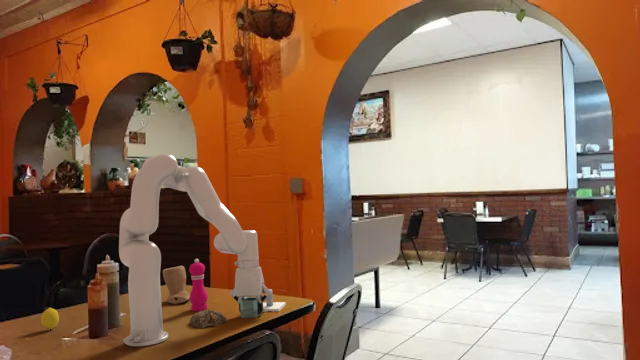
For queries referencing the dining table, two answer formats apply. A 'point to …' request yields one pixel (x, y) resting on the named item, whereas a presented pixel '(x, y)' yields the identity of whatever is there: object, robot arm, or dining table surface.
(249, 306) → the collar
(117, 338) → the dining table surface
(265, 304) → the shaft base
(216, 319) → the bread roll
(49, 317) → the lemon
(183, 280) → the beige hollow piece
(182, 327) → the dining table surface
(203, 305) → the pepper mill
